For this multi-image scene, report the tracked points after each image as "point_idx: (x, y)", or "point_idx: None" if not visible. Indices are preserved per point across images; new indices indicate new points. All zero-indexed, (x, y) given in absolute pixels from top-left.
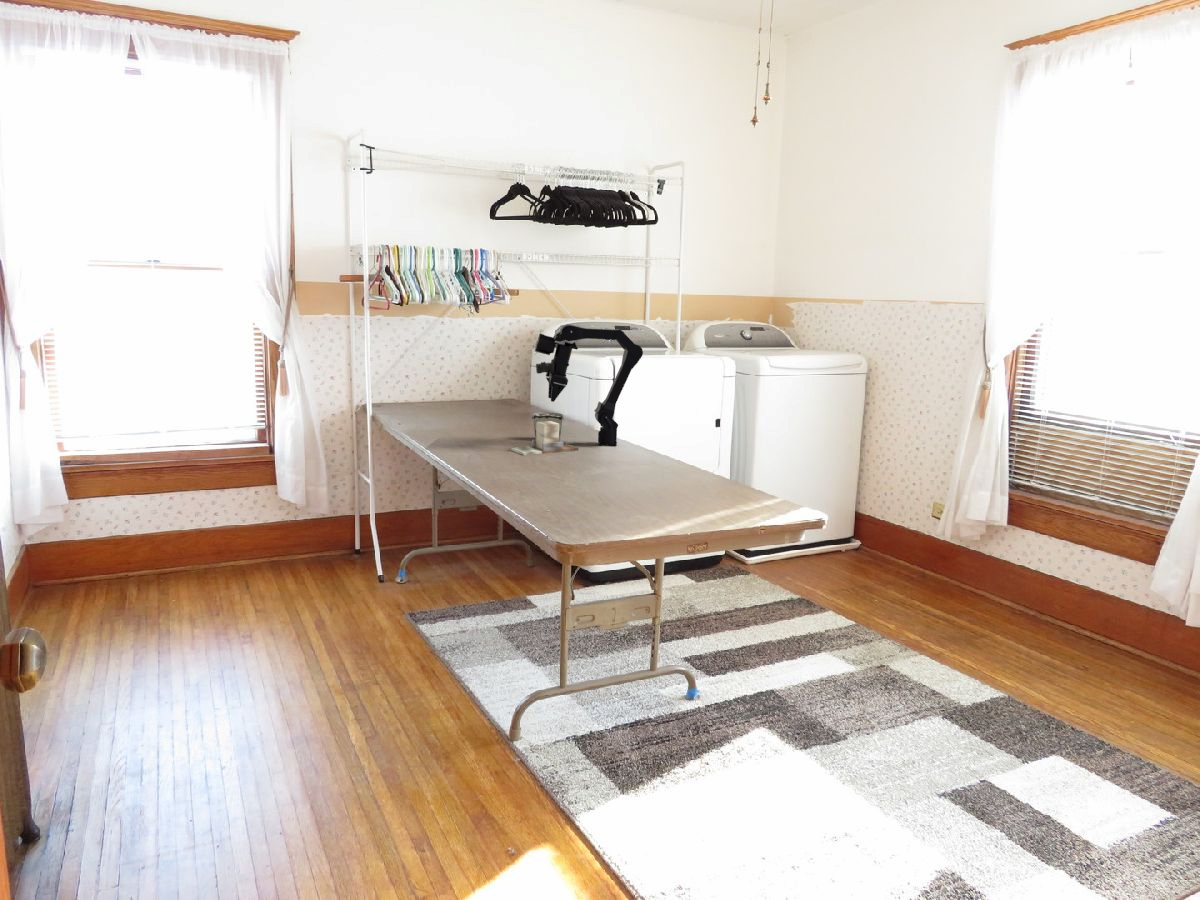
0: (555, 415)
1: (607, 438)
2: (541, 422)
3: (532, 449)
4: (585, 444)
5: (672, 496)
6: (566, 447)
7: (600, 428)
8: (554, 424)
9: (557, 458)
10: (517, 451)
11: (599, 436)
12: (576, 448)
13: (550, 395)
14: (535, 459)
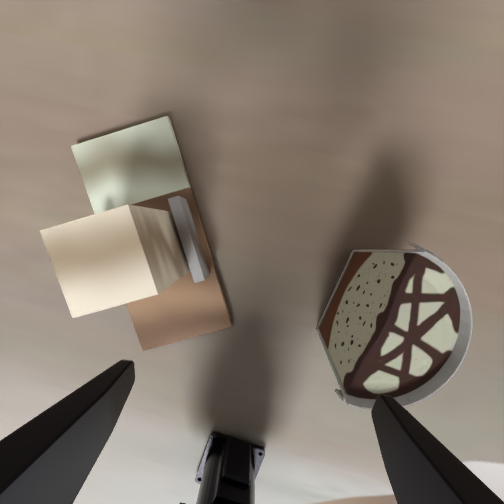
0: (413, 375)
1: (202, 477)
2: (114, 230)
3: (131, 189)
4: (241, 394)
5: None
6: (156, 314)
7: (216, 497)
8: (64, 289)
9: (21, 248)
10: (121, 132)
11: (223, 461)
12: (141, 343)
13: (388, 432)
14: (8, 173)
